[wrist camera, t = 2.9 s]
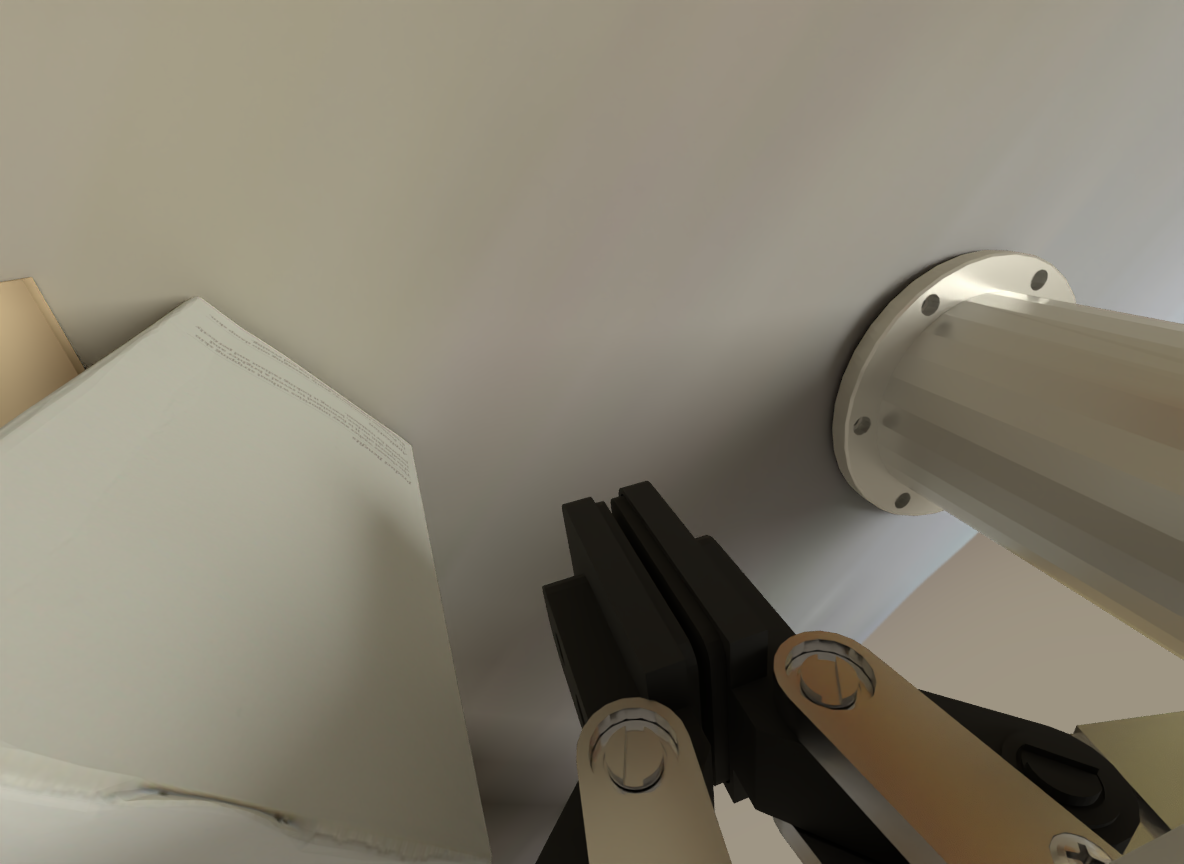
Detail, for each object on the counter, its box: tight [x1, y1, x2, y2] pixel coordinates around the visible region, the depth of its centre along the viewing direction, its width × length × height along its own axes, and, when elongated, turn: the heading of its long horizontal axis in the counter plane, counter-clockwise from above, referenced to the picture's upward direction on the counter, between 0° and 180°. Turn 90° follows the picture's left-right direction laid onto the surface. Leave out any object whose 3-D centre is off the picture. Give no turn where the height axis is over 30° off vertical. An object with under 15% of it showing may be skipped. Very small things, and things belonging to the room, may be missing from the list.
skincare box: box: [0, 296, 492, 864], centre depth 12 cm, size 8×6×15 cm
